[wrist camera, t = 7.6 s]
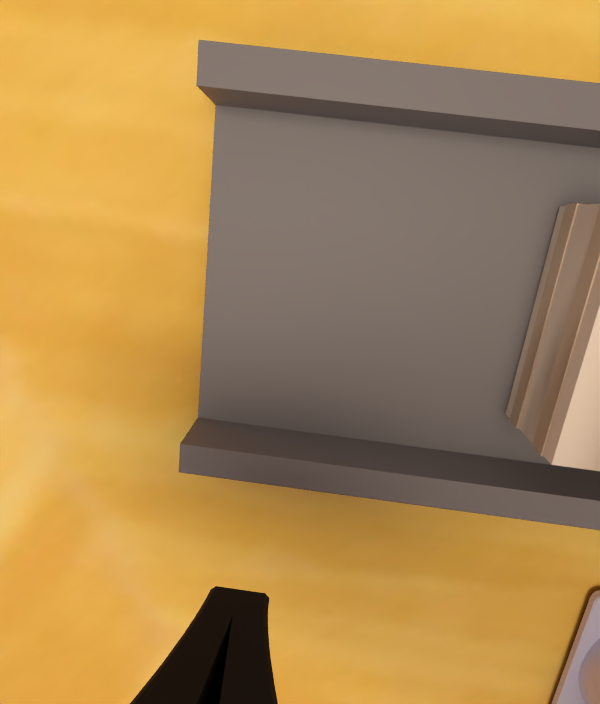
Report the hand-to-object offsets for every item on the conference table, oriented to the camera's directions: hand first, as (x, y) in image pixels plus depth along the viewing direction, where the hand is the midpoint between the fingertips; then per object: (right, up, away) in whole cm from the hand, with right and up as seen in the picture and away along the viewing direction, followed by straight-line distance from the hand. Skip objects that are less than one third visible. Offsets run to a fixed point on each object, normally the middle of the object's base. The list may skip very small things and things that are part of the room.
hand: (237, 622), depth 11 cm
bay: (+8, +8, +7) cm, 14 cm away
